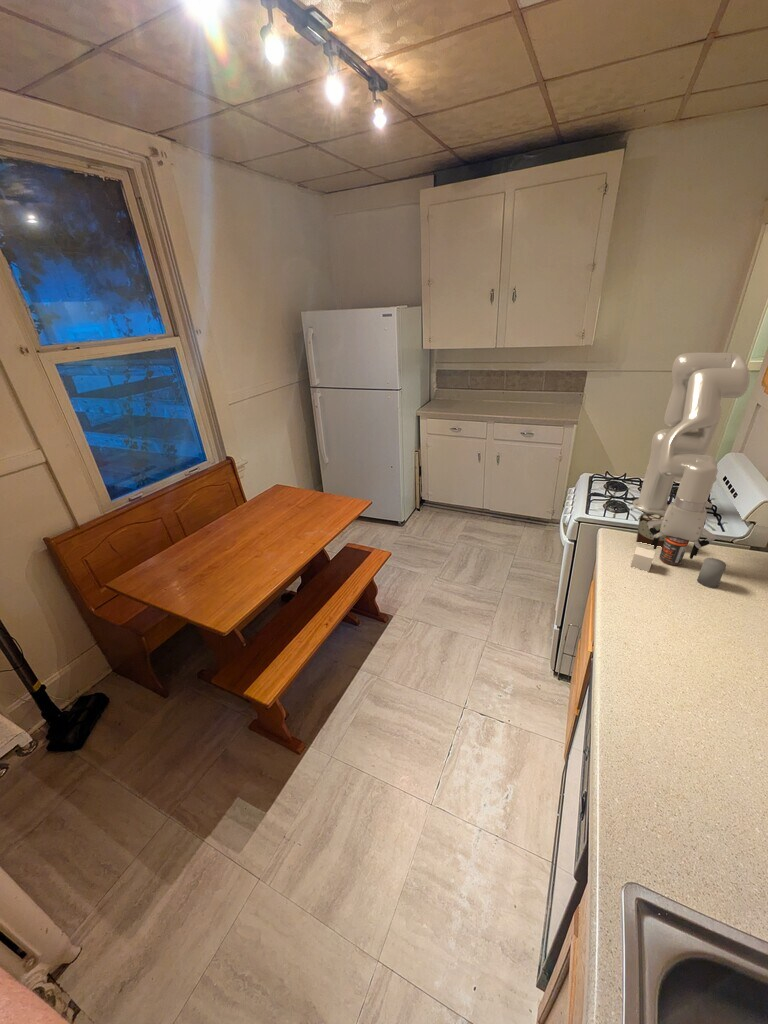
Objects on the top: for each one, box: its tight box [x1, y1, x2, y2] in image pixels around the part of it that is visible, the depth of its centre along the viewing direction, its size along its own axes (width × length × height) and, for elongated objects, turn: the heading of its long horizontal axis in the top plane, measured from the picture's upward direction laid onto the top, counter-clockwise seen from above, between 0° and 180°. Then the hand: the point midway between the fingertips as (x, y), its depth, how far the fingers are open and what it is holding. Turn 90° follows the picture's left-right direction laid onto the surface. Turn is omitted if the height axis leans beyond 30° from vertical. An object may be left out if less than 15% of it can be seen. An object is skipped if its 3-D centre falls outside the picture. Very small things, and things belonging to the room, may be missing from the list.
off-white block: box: [630, 546, 656, 573], centre depth 126 cm, size 5×5×5 cm
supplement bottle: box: [658, 535, 690, 566], centre depth 126 cm, size 6×6×11 cm
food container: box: [635, 512, 667, 547], centre depth 137 cm, size 12×6×10 cm, turn 58°
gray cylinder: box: [696, 557, 727, 589], centre depth 117 cm, size 5×5×7 cm
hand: (672, 551), depth 127 cm, fingers open, 9 cm apart
